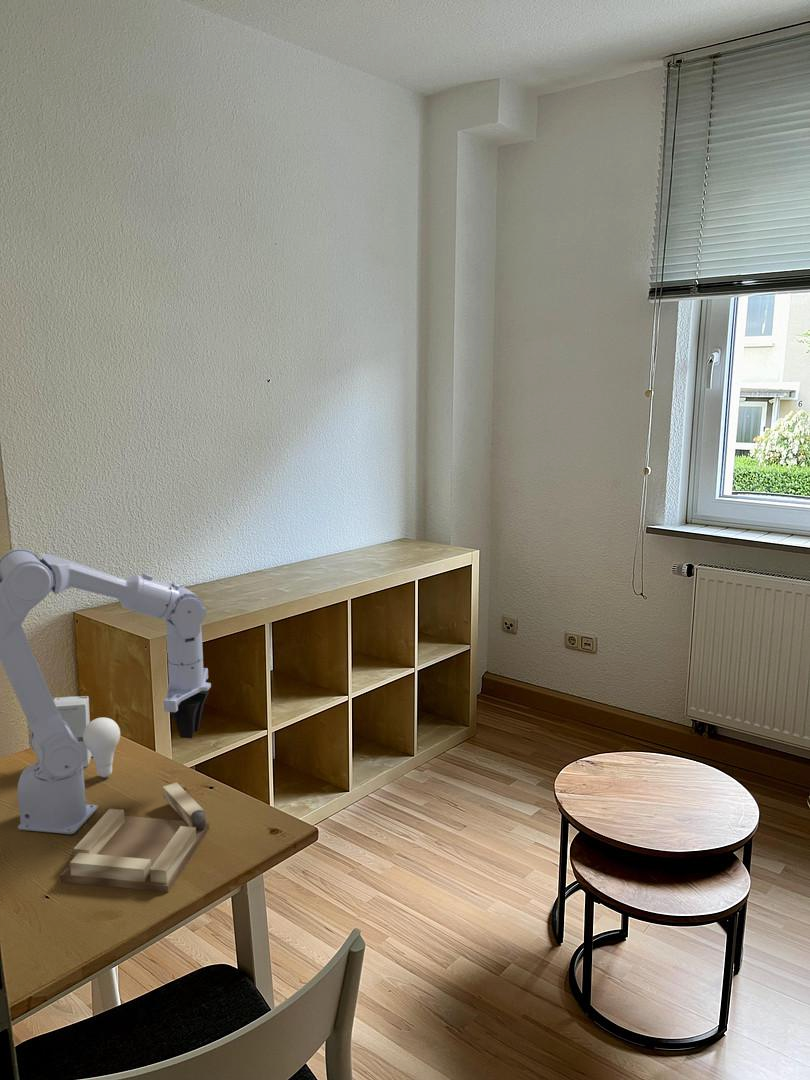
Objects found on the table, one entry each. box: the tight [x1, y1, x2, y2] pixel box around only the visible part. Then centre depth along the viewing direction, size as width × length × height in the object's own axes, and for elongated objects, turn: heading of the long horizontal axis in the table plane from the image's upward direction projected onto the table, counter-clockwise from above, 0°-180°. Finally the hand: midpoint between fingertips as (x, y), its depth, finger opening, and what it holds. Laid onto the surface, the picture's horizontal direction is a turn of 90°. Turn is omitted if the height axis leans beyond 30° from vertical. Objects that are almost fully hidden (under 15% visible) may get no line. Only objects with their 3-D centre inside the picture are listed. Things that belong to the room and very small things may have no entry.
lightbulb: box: [83, 716, 121, 779], centre depth 148 cm, size 6×6×11 cm
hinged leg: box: [162, 782, 207, 830], centre depth 136 cm, size 12×2×2 cm, turn 37°
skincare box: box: [53, 695, 93, 768], centre depth 153 cm, size 6×4×12 cm
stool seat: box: [59, 808, 210, 893], centre depth 127 cm, size 16×16×3 cm
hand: (189, 733), depth 145 cm, fingers closed
